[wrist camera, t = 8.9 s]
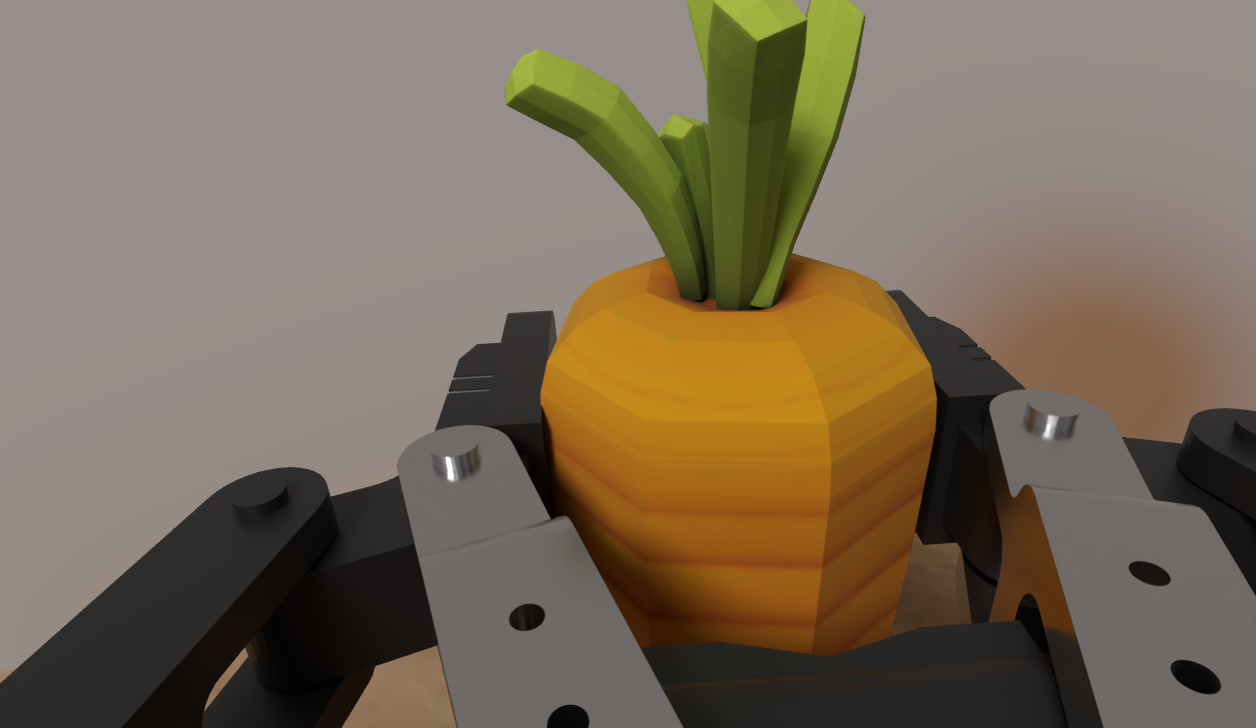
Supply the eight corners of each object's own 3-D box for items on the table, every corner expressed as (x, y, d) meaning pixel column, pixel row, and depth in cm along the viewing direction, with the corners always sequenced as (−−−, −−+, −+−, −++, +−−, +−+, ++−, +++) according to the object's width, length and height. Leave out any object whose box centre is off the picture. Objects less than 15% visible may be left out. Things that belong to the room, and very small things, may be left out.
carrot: (813, 1076, 11) (991, -123, 4) (538, 906, 13) (365, -60, 6) (884, 789, 15) (1039, -83, 8) (661, 694, 17) (635, -53, 10)
